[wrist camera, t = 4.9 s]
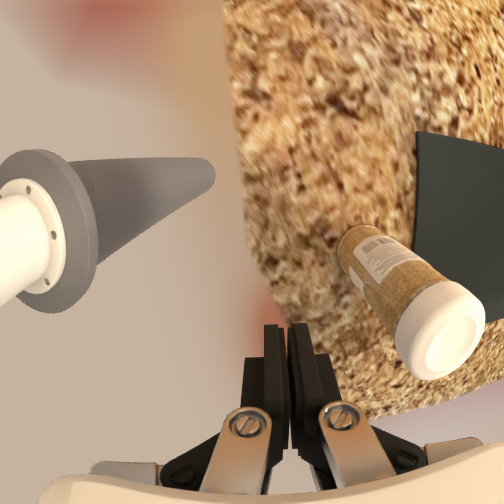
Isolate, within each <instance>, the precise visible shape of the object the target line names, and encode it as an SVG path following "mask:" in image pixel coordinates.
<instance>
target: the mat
mask: <svg viewBox="0 0 504 504" xmlns="http://www.w3.org/2000/svg"><path fill="white" fill-rule="evenodd" d="M416 142H417V198H416V216H415V229H414V240H413V249H412V252H413V253H415V254H416V255H417V256H419V257H420V258H422V259H423V260H424V261H426V262H427V263H429V264H430V265H431V266H432V268H434V269H435V270H436V271H437V272H439V273H440V274H441V275H443V276H444V277H446V278H447V279H448V280H451V281H453V282H456V283H458V284H460V285H461V286H463V287H464V288H465V289H467V290H468V291H469V292H470V293H472V294H473V295H474V296H475V297H476V298H477V299H478V300H479V301H480V302H481V304H482V305H483V308H484V311H485V323H489V322H492V321H495V320H499V319H502V318H504V149H500V148H497V147H493V146H489V145H485V144H481V143H477V142H473V141H468V140H464V139H459V138H454V137H449V136H443V135H438V134H432V133H426V132H419V131H417V132H416Z"/></svg>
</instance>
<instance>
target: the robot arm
mask: <svg viewBox="0 0 504 504" xmlns="http://www.w3.org/2000/svg"><path fill="white" fill-rule="evenodd" d="M65 259H66V241H65V234H64V228H63V225H62V221H61V218H60V215H59V213H58V210H57V208H56V205H55V204H54V202H53V200H52V198H51V197H50V195H49V194H48V193H47V192H46V190H45V189H44V188H43V187H42V186H41V185H39V184H38V183H37V182H35V181H33V180H31V179H27V178H20V179H15V180H12V181H9V182H8V183H6V184H5V185H4V186H3V187H2V188H1V190H0V307H1V306H2V305H4V304H5V303H6V302H8V301H9V300H10V299H12V298H13V297H14V296H16V295H17V294H19V293H20V292H21V291H23V290H24V291H26V292H28V293H32V294H42V293H44V292H47V291H48V290H50V289H51V288H52V287H54V286H55V285H56V283H57V282H58V281H59V279H60V277H61V275H62V273H63V270H64V266H65ZM289 421H290V425H291V440H292V449H298V456H301V458H302V459H303V460H305V461H307V462H308V463H309V464H310V470H311V473H312V476H313V479H314V483H315V486H316V489H317V492H307V493H296V494H280V495H268V491H269V485H270V480H271V475H272V467H274V466H275V465H276V464H277V463H279V462H280V461H281V460H282V458H283V449H288V437H289ZM36 504H504V442H496V443H490V444H486V445H483V443H482V442H481V441H480V440H479V439H477V438H474V437H468V438H463V439H458V440H452V441H445V442H438V443H431V444H426V445H425V446H424V447H419V446H417V445H415V444H413V443H411V442H408V441H406V440H404V439H401V438H399V437H397V436H394V435H392V434H389V433H387V432H385V431H382V430H381V429H378V428H376V427H374V426H372V425H370V423H369V421H368V420H367V418H366V416H365V414H364V412H363V411H362V409H361V408H360V407H359V406H357V405H356V404H354V403H352V402H349V401H342V398H341V395H340V391H339V387H338V384H337V380H336V377H335V373H334V370H333V367H332V363H331V360H330V357H329V354H328V353H326V354H314V350H313V345H312V341H311V337H310V333H309V329H308V325H307V323H294V324H293V327H288V337H287V356H286V346H285V337H284V328H278V324H276V325H275V324H274V325H264V357H253V358H245V362H244V373H243V384H242V395H241V406H240V408H238V409H236V410H234V411H232V412H231V413H230V414H229V415H227V417H226V419H225V421H224V423H223V426H222V429H221V432H220V433H218V434H217V435H215V436H213V437H211V438H210V439H208V440H206V441H205V442H203V443H201V444H200V445H198V446H196V447H195V448H193V449H191V450H189V451H188V452H186V453H184V454H182V455H180V456H178V457H177V458H175V459H173V460H171V461H169V462H168V463H167V464H165V465H157V464H156V463H137V462H133V463H132V462H114V461H101V462H98V463H96V464H94V465H93V466H92V467H91V468H90V471H89V473H88V474H79V475H78V474H77V475H68V476H63V477H60V478H57V479H55V480H54V481H52V482H51V483H50V484H49V485H48V486H47V488H46V489H45V490H44V492H43V493H42V494H41V496H40V497H39V499H38V501H37V503H36Z"/></svg>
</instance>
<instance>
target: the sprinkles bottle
mask: <svg viewBox="0 0 504 504" xmlns="http://www.w3.org/2000/svg"><path fill="white" fill-rule="evenodd" d="M337 257H338V261H339V264H340V266H341V268H342V269H343V270H344V271H345V272H346V273H347V274H348V275H349V276H350V278H351V280H352V281H353V283H354V284H355V286H356V287H357V289H358V290H359V291H360V293H361V294H362V296H363V297H364V298H365V300H366V301H367V302H368V303H369V305H370V306H371V308H372V309H373V310H374V312H375V313H376V314H377V315H378V317H379V318H380V320H381V321H382V323H383V324H384V325H385V327H386V328H387V330H388V331H389V333H390V334H391V336H392V337H393V339H394V342H395V347H396V350H397V352H398V354H399V356H400V357H401V359H402V361H403V362H404V364H405V365H406V367H407V368H408V370H409V371H410V372H411V374H412V375H413V376H415V377H416V378H418V379H421V380H434V379H438V378H441V377H443V376H445V375H447V374H449V373H451V372H452V371H454V370H455V369H457V368H458V367H459V366H460V365H461V364H463V363H464V362H465V361H466V360H467V358H468V357H469V356H470V355H471V353H472V352H473V351H474V349H475V347H476V346H477V344H478V342H479V340H480V338H481V336H482V333H483V329H484V325H485V311H484V308H483V305H482V304H481V302H480V301H479V300H478V299H477V298H476V297H475V296H474V295H473V294H472V293H470V292H469V291H468V290H467V289H465V288H464V287H463V286H461V285H460V284H458V283H456V282H453V281H451V280H448V279H447V278H446V277H444V276H443V275H441V274H440V273H439V272H437V271H436V270H435V269H434V268H432V266H431V265H430V264H429V263H427V262H426V261H424V260H423V259H422V258H420V257H419V256H417V255H416V254H415V253H413V252H412V251H410V250H409V249H407V248H406V247H404V246H403V245H401V244H400V243H398V242H397V241H395V240H394V239H392V238H390V237H388V236H386V235H384V234H383V233H382V232H381V231H380V230H379V229H378V228H377V227H374V226H372V225H358V226H355V227H353V228H351V229H350V230H348V231H347V232H346V233H345V234H344V236H343V237H342V238H341V240H340V242H339V245H338V248H337Z"/></svg>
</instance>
